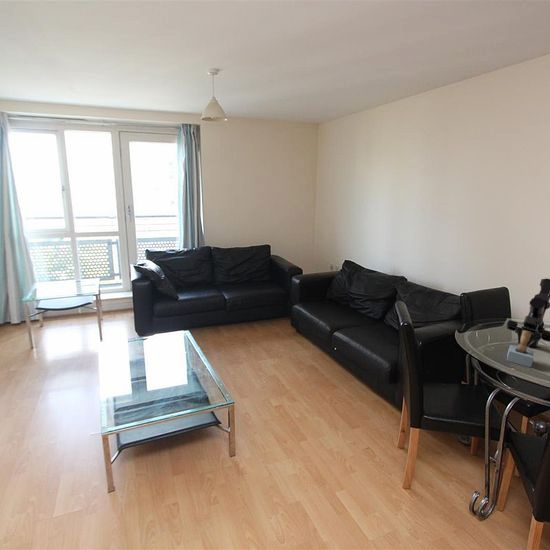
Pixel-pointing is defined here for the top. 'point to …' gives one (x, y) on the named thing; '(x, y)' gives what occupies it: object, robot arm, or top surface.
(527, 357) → the hole block
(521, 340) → the walnut peg
